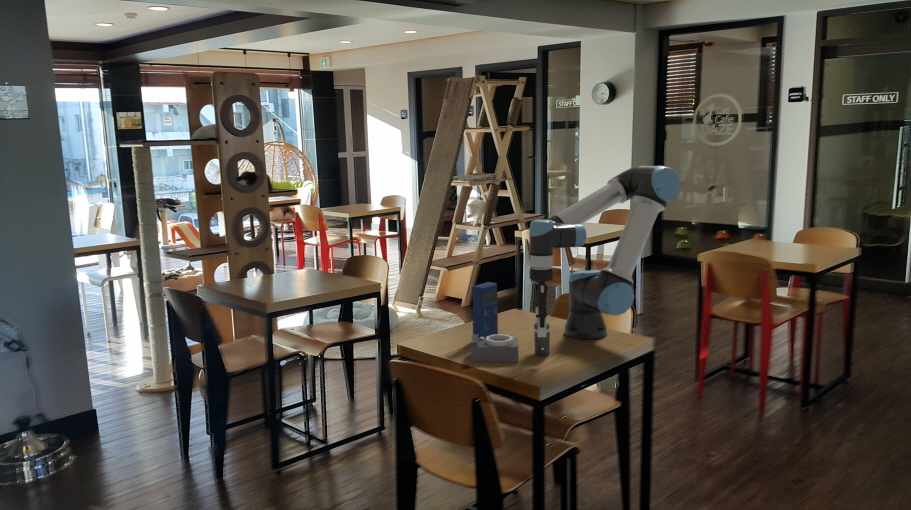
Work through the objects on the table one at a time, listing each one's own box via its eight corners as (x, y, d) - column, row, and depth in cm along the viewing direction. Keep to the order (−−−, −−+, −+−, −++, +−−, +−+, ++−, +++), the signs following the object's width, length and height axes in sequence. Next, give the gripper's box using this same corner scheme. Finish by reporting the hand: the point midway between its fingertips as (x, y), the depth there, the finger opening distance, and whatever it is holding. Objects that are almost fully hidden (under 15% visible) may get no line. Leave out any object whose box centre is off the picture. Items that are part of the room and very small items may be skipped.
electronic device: (483, 343, 247) (482, 287, 244) (472, 341, 251) (470, 286, 247) (499, 337, 255) (498, 283, 251) (488, 335, 258) (486, 281, 255)
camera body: (517, 352, 236) (517, 333, 235) (518, 361, 226) (518, 342, 225) (472, 352, 237) (472, 334, 236) (471, 362, 227) (471, 342, 226)
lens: (549, 351, 236) (549, 322, 234) (550, 356, 231) (550, 326, 229) (534, 351, 236) (533, 322, 235) (534, 356, 231) (534, 327, 229)
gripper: (528, 261, 241) (527, 321, 245) (531, 274, 217) (530, 341, 220) (550, 261, 241) (549, 322, 244) (555, 274, 216) (555, 341, 220)
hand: (540, 331), depth 232 cm, fingers open, 13 cm apart
